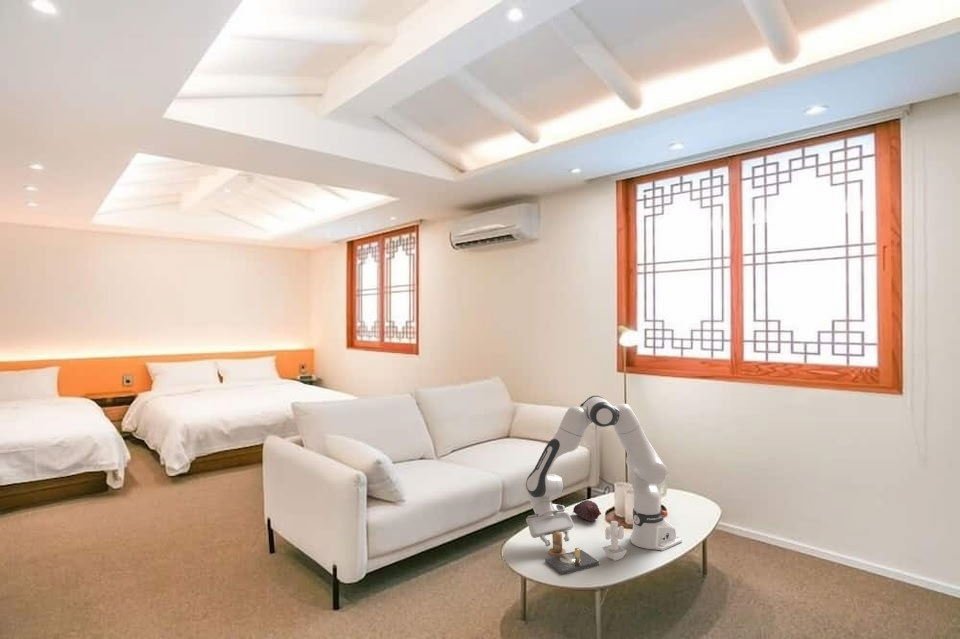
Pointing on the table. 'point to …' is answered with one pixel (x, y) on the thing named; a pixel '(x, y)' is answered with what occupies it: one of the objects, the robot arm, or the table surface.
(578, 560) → the dowel
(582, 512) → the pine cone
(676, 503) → the table surface
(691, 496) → the table surface
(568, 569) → the base plate
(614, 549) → the figurine
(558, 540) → the flange hub
